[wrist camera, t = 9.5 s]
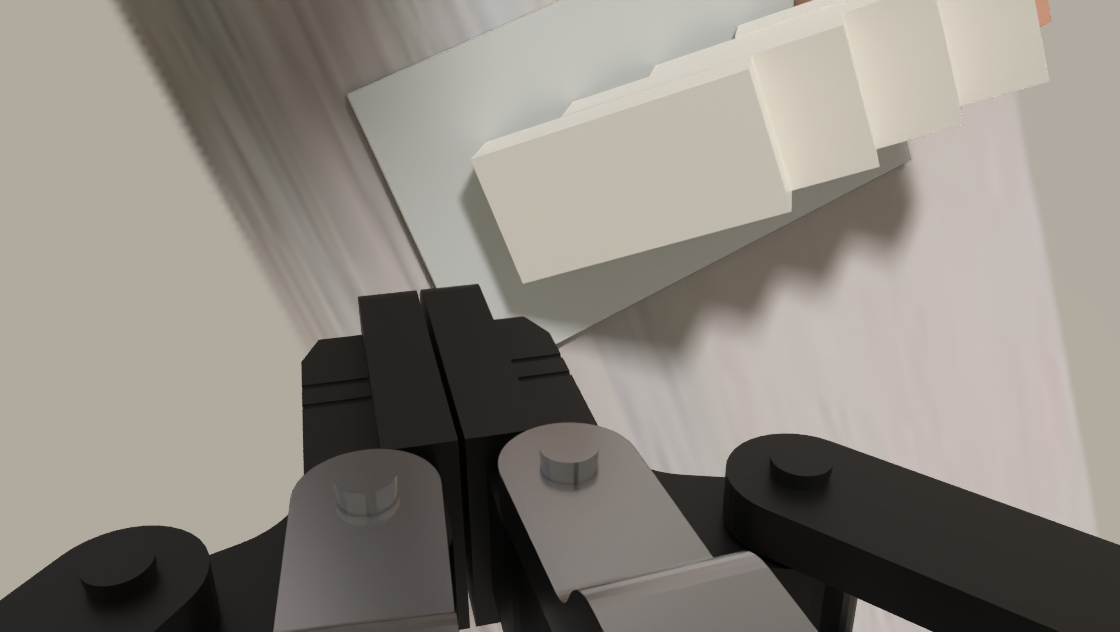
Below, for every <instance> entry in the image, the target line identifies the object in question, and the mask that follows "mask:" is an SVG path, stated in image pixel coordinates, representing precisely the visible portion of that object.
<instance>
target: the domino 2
mask: <svg viewBox="0 0 1120 632" xmlns="http://www.w3.org/2000/svg"><path fill="white" fill-rule="evenodd" d="M750 55H752V58H753V62H754V65H755V68H756V72H757V75H758V78H759V82H760V85H761V89H762V92H763V95H764V99H765V102H766V105H767V109H768V112H769V115H770V119H771V122H772V126H773V129H774V132H775V136H776V139H777V142H778V146H779V149H780V153H781V156H782V159H783V163H784V166H785V169H786V173H787V176H788V179H789V183H790V186H791V190H792V191H793V190H797V189H800V188H804V187H807V186H811V185H815V184H818V183H822V182H826V181H829V180H833V179H837V178H840V177H844V176H848V175H851V174H855V173H859V172H862V171H866V170H870V169H873V168H877V167H880V165H879V160H878V155H877V150H876V146H875V142H874V138H873V134H872V130H871V126H870V122H869V119H868V115H867V111H866V107H865V103H864V99H863V95H862V91H861V87H860V84H859V80H858V76H857V72H856V68H855V64H854V60H853V56H852V52H851V49H850V45H849V41H848V37H847V33H846V29H845V25H844V21H843V17H842V14H841V13H840V14H837V15H834V16H831V17H828V18H825V19H822V20H819V21H816V22H813V23H810V24H807V25H804V26H801V27H797V28H794V29H791V30H788V31H785V32H782V33H779V34H776V35H773V36H770V37H767V38H764V39H761V40H758V41H755V42H752V43H749V44H746V45H743V46H740V47H737V48H734V49H731V50H728V51H725V52H722V53H719V54H716V55H713V56H710V57H707V58H704V59H701V60H698V61H695V62H692V63H689V64H686V65H683V66H680V67H677V68H674V69H671V70H667V71H664V72H661V73H658V74H655V75H652V76H649V77H646V78H643V79H640V80H637V81H634V82H631V83H628V84H625V85H622V86H619V87H616V88H613V89H610V90H607V91H604V92H601V93H598V94H595V95H592V96H589V97H586V98H583V99H580V100H577V101H574V102H572V103H571V105H570V106H569V107H568V109H567V110H566V111H565V113H564V114H563V115H562V116H561V117H564V116H567V115H570V114H573V113H576V112H579V111H582V110H585V109H588V108H591V107H594V106H597V105H600V104H604V103H607V102H610V101H613V100H616V99H619V98H622V97H625V96H628V95H631V94H634V93H637V92H640V91H643V90H646V89H649V88H652V87H655V86H658V85H661V84H664V83H667V82H671V81H674V80H677V79H680V78H683V77H686V76H689V75H692V74H695V73H698V72H701V71H704V70H707V69H710V68H713V67H716V66H719V65H722V64H725V63H728V62H731V61H734V60H738V59H741V58H744V57H747V56H750Z"/></svg>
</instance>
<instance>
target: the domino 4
mask: <svg viewBox="0 0 1120 632" xmlns="http://www.w3.org/2000/svg"><path fill="white" fill-rule="evenodd" d="M845 1H848V0H812V1H809V2H806V3H803V4H800V5H798V6H795V7H792V8H789V9H786V10H783V11H780V12H777V13H774V14H771V15H768V16H765V17H762V18H759V19H756V20H753V21H750V22H747V23H744V24H741V25H738V28H737V31H736V34H735V38H738V37H741V36H744V35H747V34H750V33H753V32H756V31H759V30H762V29H765V28H768V27H771V26H774V25H777V24H779V23H782V22H785V21H788V20H791V19H794V18H797V17H800V16H803V15H806V14H809V13H812V12H815V11H818V10H821V9H824V8H827V7H830V6H833V5H836V4H839V3H842V2H845ZM937 4H938V9H939V13H940V18H941V22H942V27H943V31H944V36H945V40H946V45H947V49H948V53H949V58H950V62H951V67H952V71H953V76H954V80H955V85H956V89H957V94H958V98H959V102H960V107H961V106H965V105H968V104H972V103H975V102H979V101H982V100H986V99H989V98H993V97H996V96H1000V95H1003V94H1007V93H1010V92H1014V91H1017V90H1021V89H1025V88H1028V87H1032V86H1035V85H1038V84H1042V83H1046V82H1049V76H1048V70H1047V65H1046V59H1045V53H1044V48H1043V42H1042V37H1041V31H1040V26H1039V20H1038V15H1037V9H1036V3H1035V0H937Z"/></svg>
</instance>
